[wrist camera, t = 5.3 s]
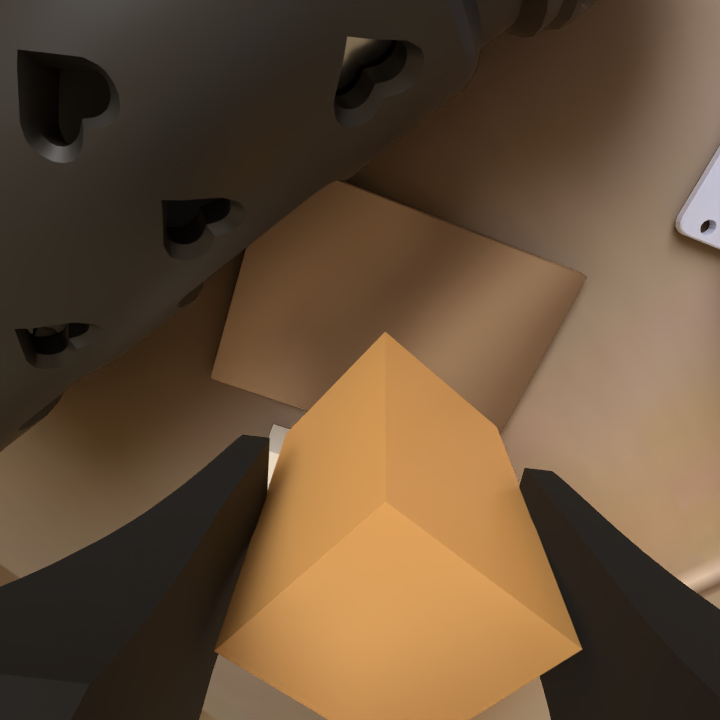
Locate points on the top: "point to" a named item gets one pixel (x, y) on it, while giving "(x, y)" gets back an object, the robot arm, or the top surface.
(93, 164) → the muzzle brake
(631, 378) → the top surface
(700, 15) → the top surface
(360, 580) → the plug
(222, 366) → the pad
